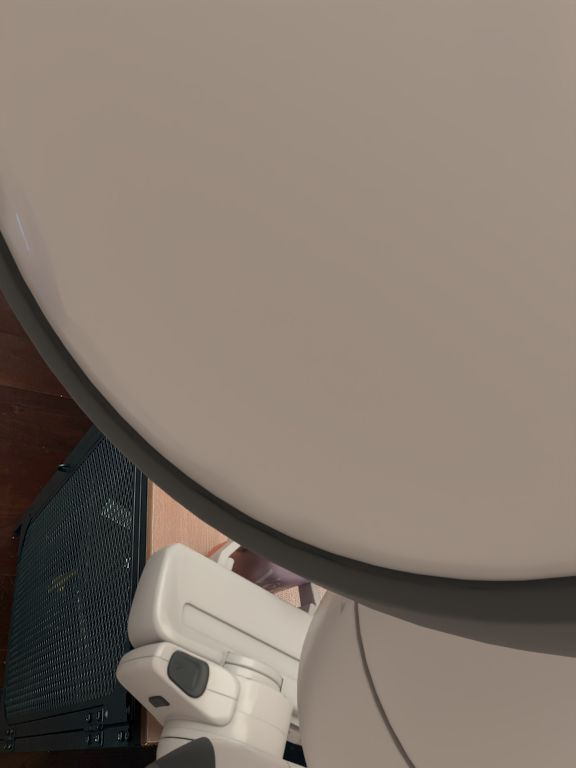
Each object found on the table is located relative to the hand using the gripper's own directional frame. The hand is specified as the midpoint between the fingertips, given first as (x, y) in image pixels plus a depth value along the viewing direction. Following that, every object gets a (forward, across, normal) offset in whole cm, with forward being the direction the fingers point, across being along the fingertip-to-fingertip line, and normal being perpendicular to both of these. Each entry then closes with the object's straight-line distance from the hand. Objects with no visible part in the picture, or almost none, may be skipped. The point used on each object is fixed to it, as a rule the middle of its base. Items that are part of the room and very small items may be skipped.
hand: (276, 546), depth 55 cm
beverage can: (-1, 0, +8) cm, 8 cm away
